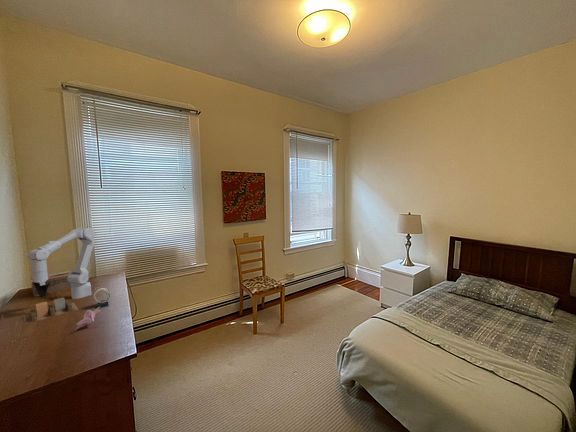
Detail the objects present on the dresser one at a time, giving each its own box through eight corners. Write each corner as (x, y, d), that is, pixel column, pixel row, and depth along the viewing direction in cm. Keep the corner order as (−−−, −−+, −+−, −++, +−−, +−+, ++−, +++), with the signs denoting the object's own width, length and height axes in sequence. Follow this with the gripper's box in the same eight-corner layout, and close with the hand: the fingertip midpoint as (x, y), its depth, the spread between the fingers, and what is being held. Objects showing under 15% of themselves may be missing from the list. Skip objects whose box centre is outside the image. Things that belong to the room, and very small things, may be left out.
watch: (112, 306, 137) (111, 288, 136) (94, 311, 131) (93, 291, 130) (111, 303, 141) (110, 285, 140) (94, 307, 135) (92, 289, 135)
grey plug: (64, 307, 134) (63, 297, 133) (65, 309, 131) (64, 299, 131) (54, 310, 131) (53, 299, 130) (55, 312, 128) (54, 301, 128)
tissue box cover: (82, 281, 180) (81, 268, 179) (86, 285, 171) (85, 272, 170) (32, 291, 160) (31, 277, 160) (34, 297, 151) (32, 282, 150)
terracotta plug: (47, 312, 128) (46, 301, 128) (48, 314, 126) (47, 303, 125) (36, 315, 125) (35, 304, 125) (37, 317, 123) (36, 306, 122)
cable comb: (73, 304, 140) (73, 297, 140) (78, 311, 132) (78, 304, 131) (23, 317, 125) (22, 310, 125) (25, 326, 116) (24, 318, 116)
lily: (106, 320, 124) (95, 305, 123) (113, 318, 117) (101, 301, 116) (79, 338, 114) (67, 321, 113) (84, 337, 107) (72, 319, 106)
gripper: (27, 270, 131) (30, 294, 132) (30, 275, 122) (33, 301, 123) (45, 267, 137) (48, 290, 138) (49, 272, 128) (52, 296, 129)
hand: (42, 295), depth 131 cm, fingers open, 7 cm apart
